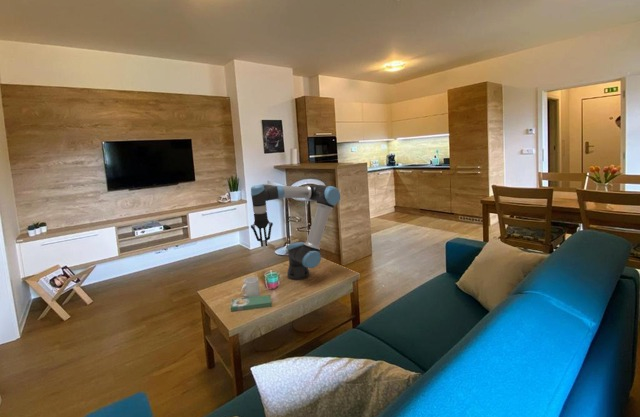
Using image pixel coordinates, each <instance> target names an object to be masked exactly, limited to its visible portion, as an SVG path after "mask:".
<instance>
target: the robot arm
mask: <svg viewBox="0 0 640 417" xmlns="http://www.w3.org/2000/svg"><path fill="white" fill-rule="evenodd" d="M250 195H251V203H252V210H253V211H252V212H253V220H254V222H253V224H250V228H251V230H252V231H253V233H254V237H255V238H256V240H257V242H260V247H262V248H263V253H267V247H268V240H271V234H272V227H273V225H274V224H273V222H270V221H269V218H268V212H267V211H268V209H267V208H268V207H267V202H268V201H273V200H280V199H287V198H288V199H289V198H290V199H305V200H306V201H313V202H316V203H315V204H316V206H317V208H316V211H315V214H314V217H313V220H312V223H311V226H310V230H309V232H308V236H307V239H306V241H305V242H304V241H297V242H296V241H295V242H292V243H289V244H287V245H288V246H287V251H288V252H287V254H288V269H287V274H286V276H287V278H288V279H289V280H293V281H294V280H295V281H296V280H297V281H299V280H300V281H301V280H304V279H306V278H308V277H310V269H314V268H315V267H316V268H317V267H318V265H319V264H320V262H321V259H322V256H321V253H320V251H321V248H320V243H321V240H322V237H323V234H324V231H325V228H326V225H327V223H328V219H329V215H330V213H331V211H332V210H333V209H334V207H335V206H336V205H338V203H340V201H341V192H340V191H339V189H338V188H337V187H335V186H331V185H324V184H316V185H305V186H297V185H295V186H293V185H277V184H275V185H274V184H273V185H271V184H270V185H269V184H257V185H252V186H251V187H250ZM268 226H269V227H268ZM267 227H268V233H267ZM256 228H257V229H258V232H259V235H258V232H257V229H256ZM262 229H263V234H262ZM263 235H264V236H263ZM263 237H264V239H263Z"/></svg>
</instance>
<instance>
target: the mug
mask: <svg viewBox="0 0 640 417" xmlns="http://www.w3.org/2000/svg"><path fill="white" fill-rule="evenodd" d="M243 290H244V294H243ZM260 292H261V291H260V283H259V278H258V277H257V276H249V277H246V278H244V279H243V285H242V287H241V290H240V294H241V297H242V298H248V297H256V296H261V295H260Z"/></svg>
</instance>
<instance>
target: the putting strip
mask: <svg viewBox="0 0 640 417" xmlns="http://www.w3.org/2000/svg"><path fill="white" fill-rule="evenodd" d="M271 296H272V294H266V295H259V296H256V297H248V298H246V297H242V298H240V297H239V298H234V299H231V304H230V312H231V313H234V312H241V311H248V310H255V309H264V308H271V307H272V297H271ZM241 300H243V301H245V303H243V304H239V301H241Z"/></svg>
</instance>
